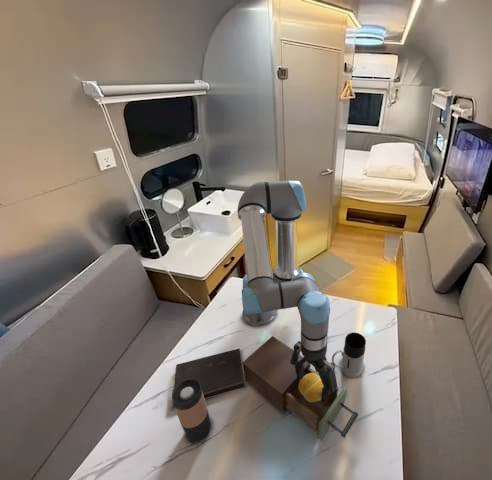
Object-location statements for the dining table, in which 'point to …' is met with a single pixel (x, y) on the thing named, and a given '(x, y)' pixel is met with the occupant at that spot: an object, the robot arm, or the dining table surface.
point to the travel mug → (192, 410)
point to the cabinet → (272, 371)
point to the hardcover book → (213, 373)
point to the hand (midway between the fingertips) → (312, 389)
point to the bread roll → (311, 387)
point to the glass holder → (352, 355)
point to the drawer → (318, 409)
